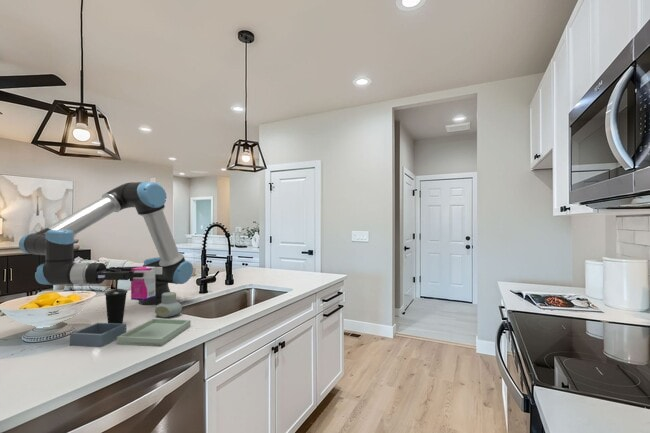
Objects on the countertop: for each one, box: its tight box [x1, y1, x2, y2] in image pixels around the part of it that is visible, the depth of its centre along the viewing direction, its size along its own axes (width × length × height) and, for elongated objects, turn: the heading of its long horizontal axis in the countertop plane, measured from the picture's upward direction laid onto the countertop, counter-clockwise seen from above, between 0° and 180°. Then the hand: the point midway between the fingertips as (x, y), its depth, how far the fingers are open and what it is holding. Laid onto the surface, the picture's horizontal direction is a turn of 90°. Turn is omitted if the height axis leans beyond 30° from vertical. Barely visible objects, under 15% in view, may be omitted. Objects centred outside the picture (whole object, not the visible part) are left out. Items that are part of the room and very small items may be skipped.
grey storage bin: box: [69, 322, 127, 348], centre depth 110 cm, size 12×12×4 cm
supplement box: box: [130, 266, 155, 301], centre depth 114 cm, size 6×6×12 cm
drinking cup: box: [104, 280, 128, 324], centre depth 124 cm, size 8×8×20 cm
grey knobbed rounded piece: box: [154, 291, 183, 319], centre depth 138 cm, size 11×8×10 cm
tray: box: [116, 318, 192, 347], centre depth 116 cm, size 20×16×2 cm
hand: (158, 272), depth 114 cm, fingers closed on supplement box, 7 cm apart
